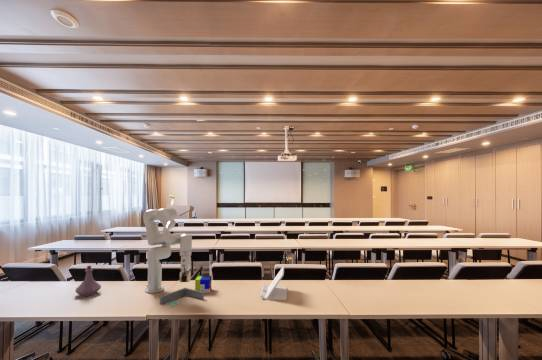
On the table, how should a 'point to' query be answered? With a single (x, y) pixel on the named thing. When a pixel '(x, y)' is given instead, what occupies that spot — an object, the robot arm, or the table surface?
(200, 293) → the arena
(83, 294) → the flask
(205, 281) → the puzzle toy
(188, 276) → the birch block
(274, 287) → the tablet stand
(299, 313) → the table surface
